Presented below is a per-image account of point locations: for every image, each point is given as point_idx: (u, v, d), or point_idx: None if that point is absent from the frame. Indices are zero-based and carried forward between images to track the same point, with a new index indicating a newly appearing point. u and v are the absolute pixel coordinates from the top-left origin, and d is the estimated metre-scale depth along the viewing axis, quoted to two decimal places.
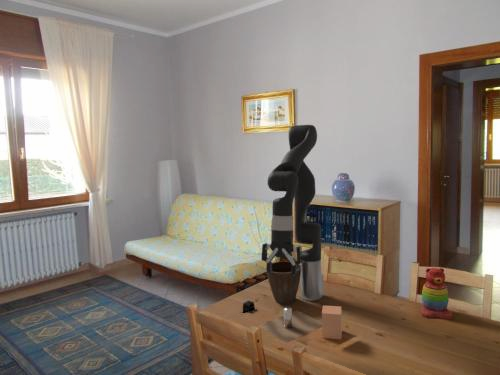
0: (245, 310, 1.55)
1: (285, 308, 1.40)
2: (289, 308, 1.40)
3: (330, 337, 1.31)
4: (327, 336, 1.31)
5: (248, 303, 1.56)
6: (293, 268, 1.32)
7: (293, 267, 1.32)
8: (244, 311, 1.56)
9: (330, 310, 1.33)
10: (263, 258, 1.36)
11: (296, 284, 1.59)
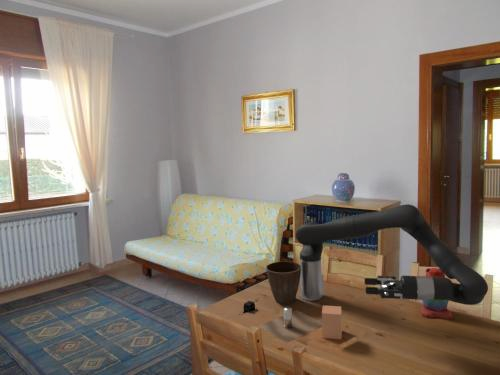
0: (246, 310, 1.55)
1: (285, 308, 1.40)
2: (289, 308, 1.40)
3: (330, 337, 1.31)
4: (327, 336, 1.31)
5: (249, 303, 1.56)
6: None
7: None
8: (245, 311, 1.56)
9: (330, 310, 1.33)
10: None
11: (296, 284, 1.59)
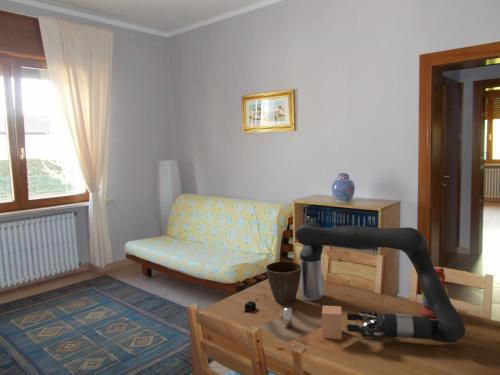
0: (247, 311, 1.55)
1: (285, 308, 1.40)
2: (289, 308, 1.40)
3: (330, 337, 1.31)
4: (327, 336, 1.31)
5: (250, 303, 1.56)
6: None
7: None
8: (246, 312, 1.55)
9: (330, 310, 1.33)
10: None
11: (296, 284, 1.59)
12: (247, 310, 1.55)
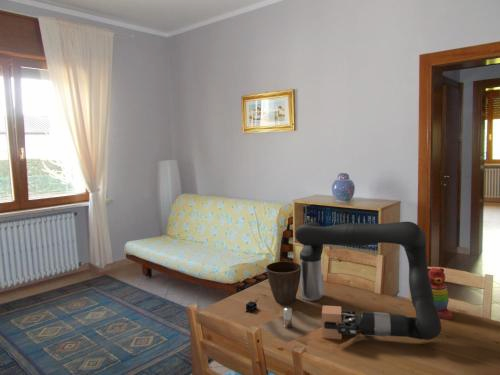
0: (249, 311, 1.55)
1: (285, 308, 1.40)
2: (289, 308, 1.40)
3: (330, 337, 1.31)
4: (327, 336, 1.31)
5: (251, 304, 1.55)
6: None
7: None
8: None
9: (330, 310, 1.33)
10: None
11: (296, 284, 1.59)
12: (248, 310, 1.55)
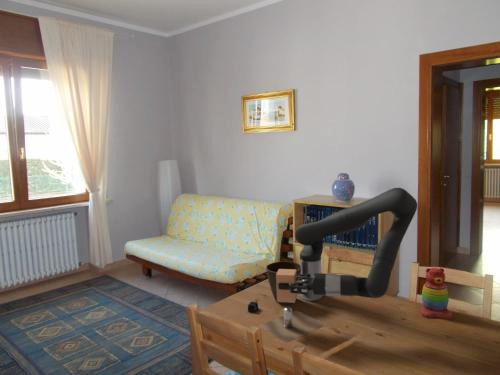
0: (251, 311, 1.54)
1: (285, 308, 1.40)
2: (289, 308, 1.40)
3: (284, 298, 1.36)
4: (281, 297, 1.36)
5: (253, 304, 1.55)
6: None
7: None
8: None
9: (284, 272, 1.38)
10: None
11: None
12: (250, 311, 1.54)
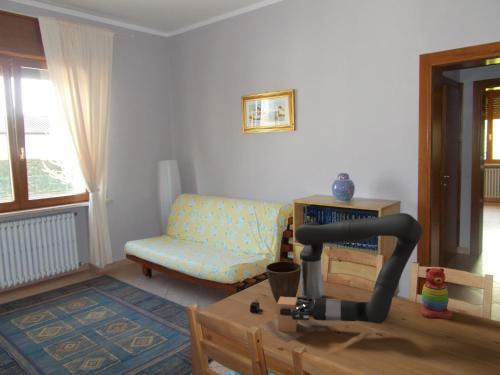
0: (253, 311, 1.54)
1: None
2: None
3: (285, 326, 1.37)
4: (282, 325, 1.38)
5: (255, 304, 1.55)
6: None
7: None
8: None
9: (285, 300, 1.39)
10: None
11: (296, 284, 1.59)
12: (253, 311, 1.54)
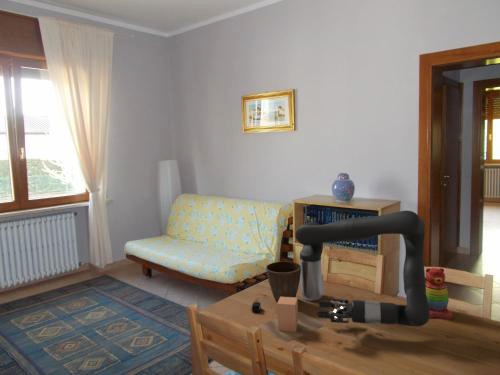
0: (255, 311, 1.54)
1: None
2: None
3: (285, 326, 1.37)
4: (282, 325, 1.38)
5: (257, 304, 1.55)
6: None
7: None
8: None
9: (285, 300, 1.39)
10: None
11: (296, 284, 1.59)
12: (255, 311, 1.54)
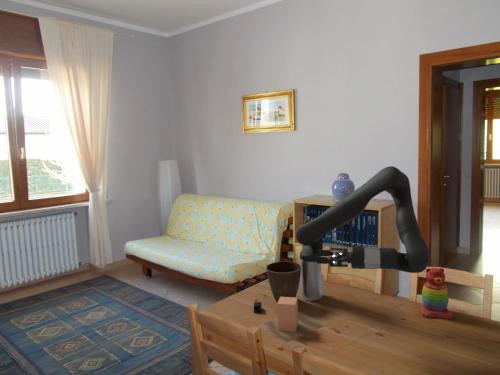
0: (257, 311, 1.54)
1: None
2: None
3: (285, 326, 1.37)
4: (282, 325, 1.38)
5: (258, 304, 1.55)
6: None
7: None
8: None
9: (285, 300, 1.39)
10: None
11: (296, 284, 1.59)
12: (256, 311, 1.54)
